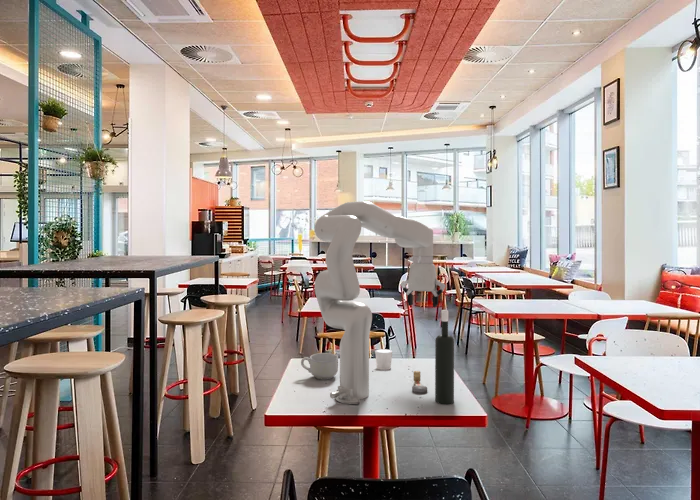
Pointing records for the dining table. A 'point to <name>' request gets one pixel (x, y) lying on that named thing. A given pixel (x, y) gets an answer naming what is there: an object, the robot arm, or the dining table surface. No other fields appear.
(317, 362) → the teacup
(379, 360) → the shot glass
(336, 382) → the dining table surface
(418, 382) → the multicoloured piece
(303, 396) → the dining table surface
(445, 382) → the wine bottle
